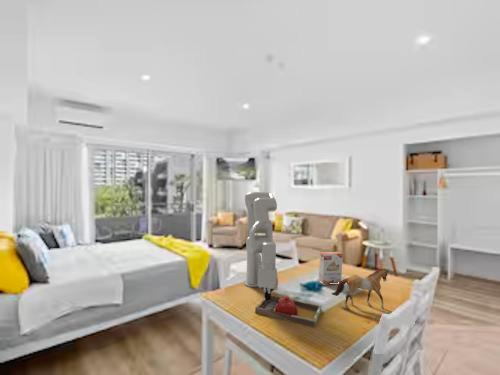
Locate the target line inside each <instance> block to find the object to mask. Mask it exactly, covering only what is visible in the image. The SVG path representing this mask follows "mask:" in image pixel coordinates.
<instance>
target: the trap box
mask: <svg viewBox="0 0 500 375" xmlns="http://www.w3.org/2000/svg"><path fill="white" fill-rule="evenodd" d="M281 298H282V297H280V296H277V295H276V296H275V295H272V294H271V299H270V300H269V301H267V300H265V297H264V298H263V299H262V300H261V301H260V302H259V303H258V304H257V306H255V314H256V313H257V314H259V315H263V316H268V317H271V318H274V319H275V318H276V319H280V320H285V321H288V322H292V323H295V324H299V325H303V326H307V327H311V328H315V327H316V324H317V321H318V320H319V316H320V315H321V313H322V305H321V304H316V303H311V302H307V301H299V300H294V299H293V300H294V303H295V306H296V307H297V308H298V307H299V308H303V309H308V310H311V311H316V312H315V314H314V317H313V319H310V318H307V317H302V316H299V315H298V316H295V315H288V314H284V313H280V312H275V306H276V305H278V302H279V299H281Z"/></svg>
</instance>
